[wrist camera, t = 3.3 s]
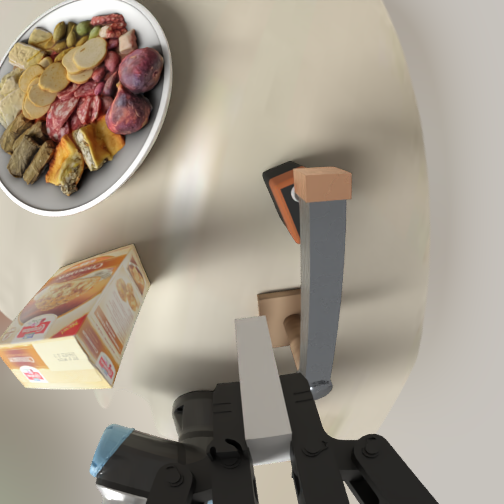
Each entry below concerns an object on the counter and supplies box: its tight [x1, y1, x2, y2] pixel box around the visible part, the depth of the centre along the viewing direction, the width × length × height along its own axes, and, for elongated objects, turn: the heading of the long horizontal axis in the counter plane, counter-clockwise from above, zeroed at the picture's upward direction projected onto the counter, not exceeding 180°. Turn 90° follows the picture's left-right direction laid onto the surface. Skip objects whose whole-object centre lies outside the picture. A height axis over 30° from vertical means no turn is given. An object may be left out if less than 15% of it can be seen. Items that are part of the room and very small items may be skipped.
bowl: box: [0, 0, 173, 217], centre depth 23 cm, size 30×30×8 cm
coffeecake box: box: [0, 244, 151, 389], centre depth 28 cm, size 15×7×20 cm, turn 103°
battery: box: [262, 161, 306, 244], centre depth 30 cm, size 4×7×10 cm, turn 24°
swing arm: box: [293, 167, 352, 400], centre depth 26 cm, size 4×26×4 cm, turn 5°
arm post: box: [257, 289, 301, 371], centre depth 38 cm, size 10×10×12 cm
